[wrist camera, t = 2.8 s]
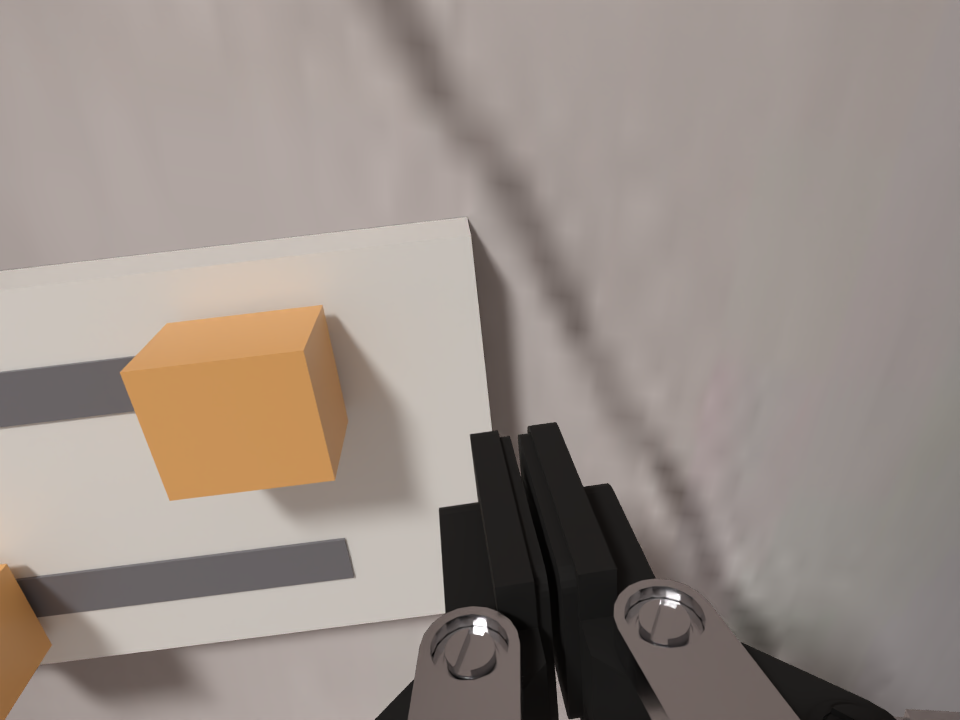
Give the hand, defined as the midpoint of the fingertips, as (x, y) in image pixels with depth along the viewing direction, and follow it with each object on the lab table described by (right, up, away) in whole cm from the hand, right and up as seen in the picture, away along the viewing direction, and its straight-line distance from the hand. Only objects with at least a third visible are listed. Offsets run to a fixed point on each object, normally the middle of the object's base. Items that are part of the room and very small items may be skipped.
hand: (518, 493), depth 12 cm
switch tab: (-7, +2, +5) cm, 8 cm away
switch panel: (-13, -1, +8) cm, 16 cm away
